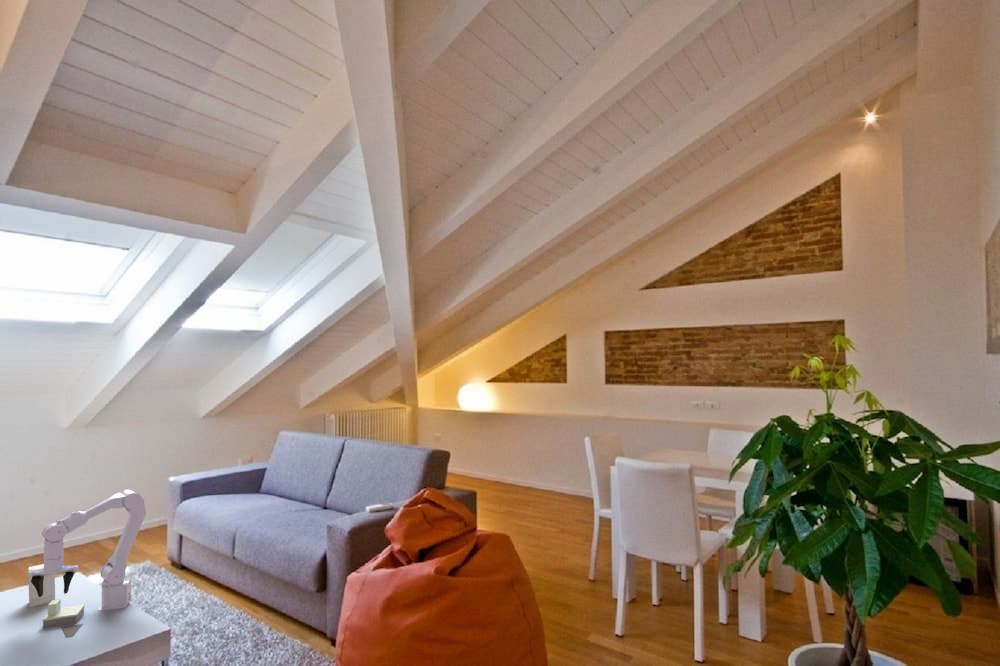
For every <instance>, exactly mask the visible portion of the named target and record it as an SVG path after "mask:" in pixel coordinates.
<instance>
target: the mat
mask: <svg viewBox="0 0 1000 666" xmlns="http://www.w3.org/2000/svg"><path fill="white" fill-rule="evenodd" d="M83 625H84V623H79V624H77V623H76V624H70V625H63V626H61V627H60V628H61V631H62V633H63V635H64V637H65V639H69V638H73V637H75V635H76V634H77V633H78V631H79V630H80V629H81V627H83Z"/></svg>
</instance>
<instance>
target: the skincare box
mask: <svg viewBox="0 0 1000 666" xmlns="http://www.w3.org/2000/svg"><path fill="white" fill-rule="evenodd" d="M40 569H44V563H42V564H37V565H33V566H29V567H28V569H27V574H28V573H29V572H30V571H35V570H40ZM55 575H56V574H54V575H46V576H44V581H43V595H42V596H41V597H38V593H37V590H36V588H35V587H34V585H33V584H32V583H31V580H32V578H28V577H27V579H28V601H29V602H28V603H29V605H28V606H29V608H32V607H39V606H42V605H46V604H49V603H50V602H51V601H52V600H56V579H55V577H56V576H55Z"/></svg>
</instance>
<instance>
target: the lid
mask: <svg viewBox="0 0 1000 666" xmlns="http://www.w3.org/2000/svg"><path fill="white" fill-rule="evenodd" d="M47 604H48V605H47V613H46V614H45V616H43V618H42V619H41V621H42V622H43V621H45V620H52V619H59V618H66V617H73V616H77V615H78V614H79V613H80V611H81V610H82V609H83V608H84V609H85V606H86V604H77V605H72V606H65V607H64V606H63V607H62V606H61V604H62V603H61V598H60V599H55V600H52V601H51V602H50V603H47Z"/></svg>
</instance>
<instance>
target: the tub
mask: <svg viewBox="0 0 1000 666" xmlns="http://www.w3.org/2000/svg"><path fill="white" fill-rule="evenodd" d="M84 614H85V607H84V608H83V609H82V610H81V611H80V613H79V614H78V615H77V616H73V617H66V618H59V619H52V620H45V621H42V628H44V629H45V628H51V627H58V626H68V625H76V624H77V623H78V622H79V621H80V620H81V618H82V617H83V616H84Z"/></svg>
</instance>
